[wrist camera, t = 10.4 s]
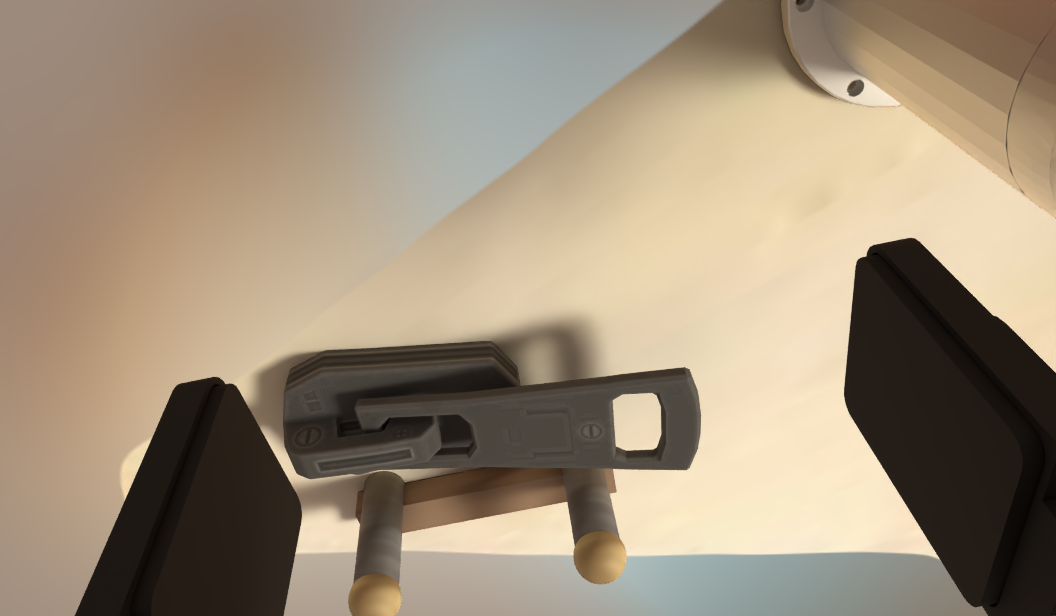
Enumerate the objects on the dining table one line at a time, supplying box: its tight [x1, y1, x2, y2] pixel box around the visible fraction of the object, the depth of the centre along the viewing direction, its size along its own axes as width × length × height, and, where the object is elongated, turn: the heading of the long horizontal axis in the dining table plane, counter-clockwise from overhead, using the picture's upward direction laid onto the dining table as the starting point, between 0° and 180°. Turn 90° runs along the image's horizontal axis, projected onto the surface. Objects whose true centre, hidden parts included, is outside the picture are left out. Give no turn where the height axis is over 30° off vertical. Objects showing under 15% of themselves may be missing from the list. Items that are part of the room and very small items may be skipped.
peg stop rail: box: [348, 467, 627, 616], centre depth 49 cm, size 18×5×11 cm, turn 100°
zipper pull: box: [283, 341, 701, 479], centre depth 46 cm, size 9×7×25 cm
